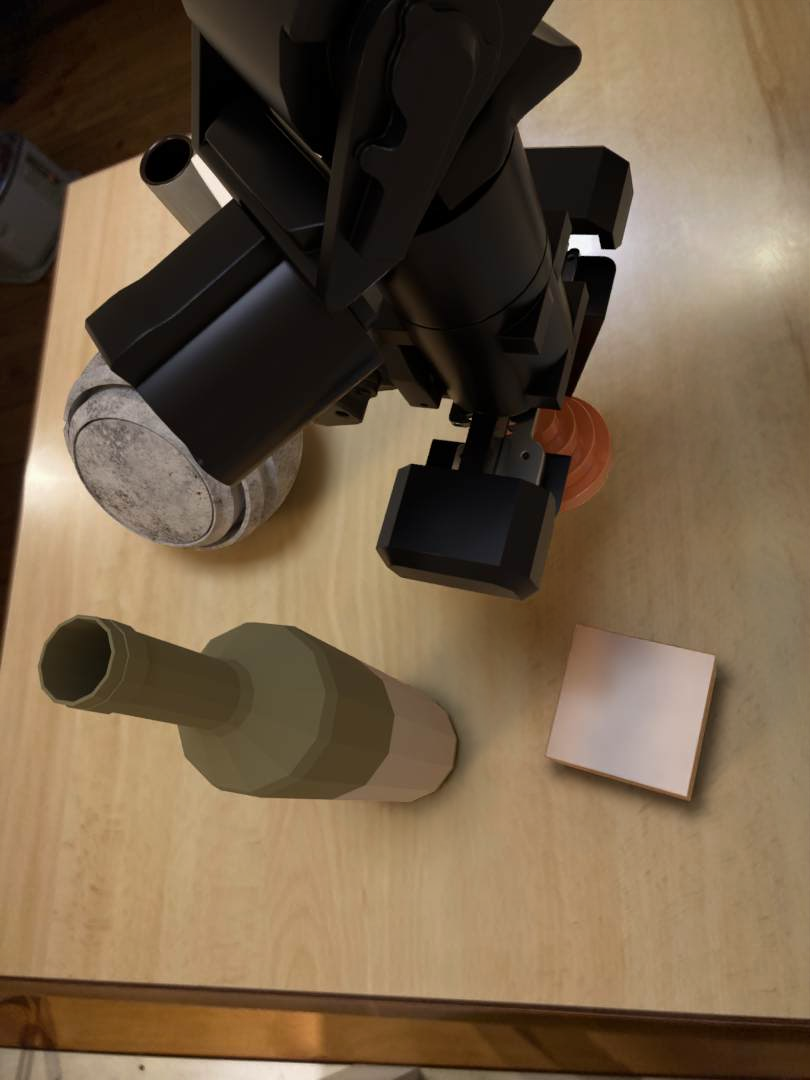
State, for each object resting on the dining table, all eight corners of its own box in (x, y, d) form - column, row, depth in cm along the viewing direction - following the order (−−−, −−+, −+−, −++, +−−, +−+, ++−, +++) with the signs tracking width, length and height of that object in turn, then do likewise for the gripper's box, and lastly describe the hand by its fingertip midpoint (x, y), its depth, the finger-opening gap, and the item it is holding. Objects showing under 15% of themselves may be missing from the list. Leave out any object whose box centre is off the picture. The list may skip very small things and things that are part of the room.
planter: (209, 242, 70) (132, 153, 61) (255, 215, 69) (185, 121, 60) (222, 281, 68) (145, 196, 59) (270, 254, 67) (199, 163, 58)
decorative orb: (135, 558, 62) (-23, 484, 49) (189, 383, 66) (55, 269, 52) (311, 584, 57) (187, 508, 43) (359, 391, 60) (258, 266, 47)
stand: (716, 674, 46) (716, 654, 41) (690, 801, 45) (687, 798, 39) (591, 645, 49) (576, 623, 44) (562, 764, 48) (543, 756, 42)
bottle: (354, 697, 53) (-13, 566, 26) (461, 681, 51) (181, 520, 24) (362, 813, 50) (-34, 799, 24) (474, 801, 49) (180, 770, 22)
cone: (624, 410, 42) (613, 361, 37) (599, 522, 41) (584, 485, 36) (510, 399, 44) (487, 351, 40) (483, 504, 43) (455, 467, 38)
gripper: (325, 38, 32) (444, 274, 46) (169, 485, 28) (351, 596, 42) (614, 13, 28) (649, 281, 42) (479, 537, 24) (567, 641, 38)
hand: (548, 445), depth 41 cm, fingers closed on cone, 5 cm apart
